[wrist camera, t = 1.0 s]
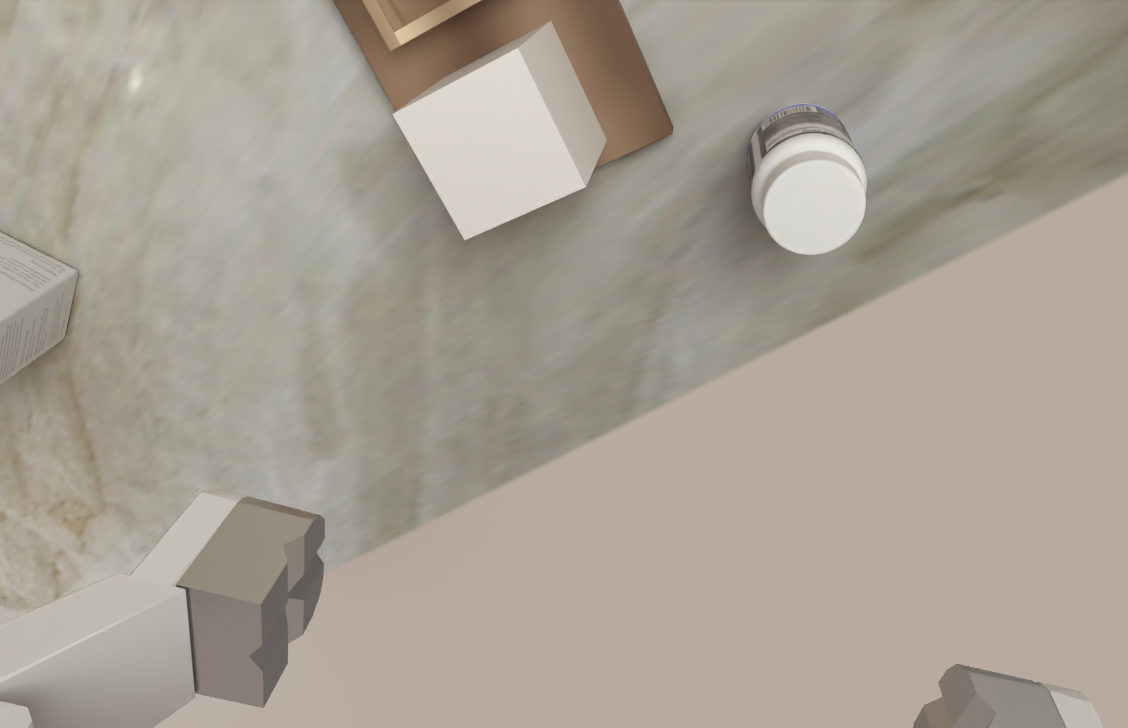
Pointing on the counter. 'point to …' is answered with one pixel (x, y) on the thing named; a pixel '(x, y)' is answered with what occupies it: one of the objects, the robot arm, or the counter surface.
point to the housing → (505, 133)
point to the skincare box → (31, 304)
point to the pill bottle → (806, 179)
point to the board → (497, 17)
